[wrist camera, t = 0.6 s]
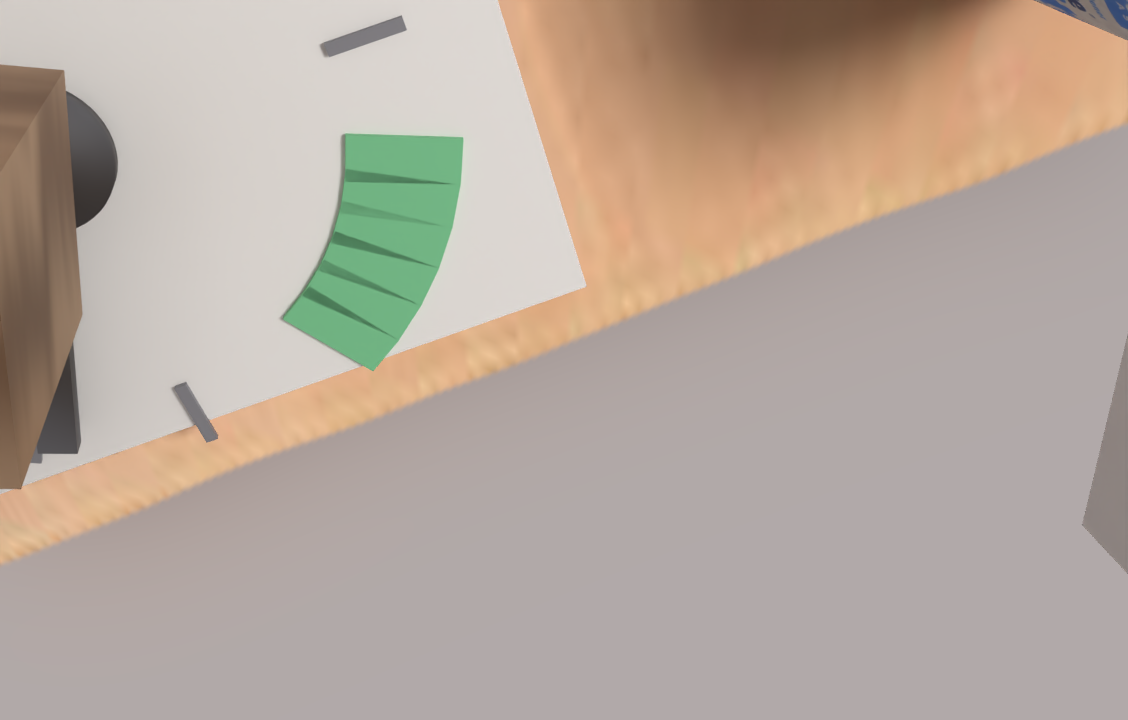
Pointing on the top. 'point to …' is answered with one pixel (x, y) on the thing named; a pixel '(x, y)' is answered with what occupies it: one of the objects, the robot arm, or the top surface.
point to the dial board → (289, 196)
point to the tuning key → (43, 258)
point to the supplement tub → (1096, 13)
